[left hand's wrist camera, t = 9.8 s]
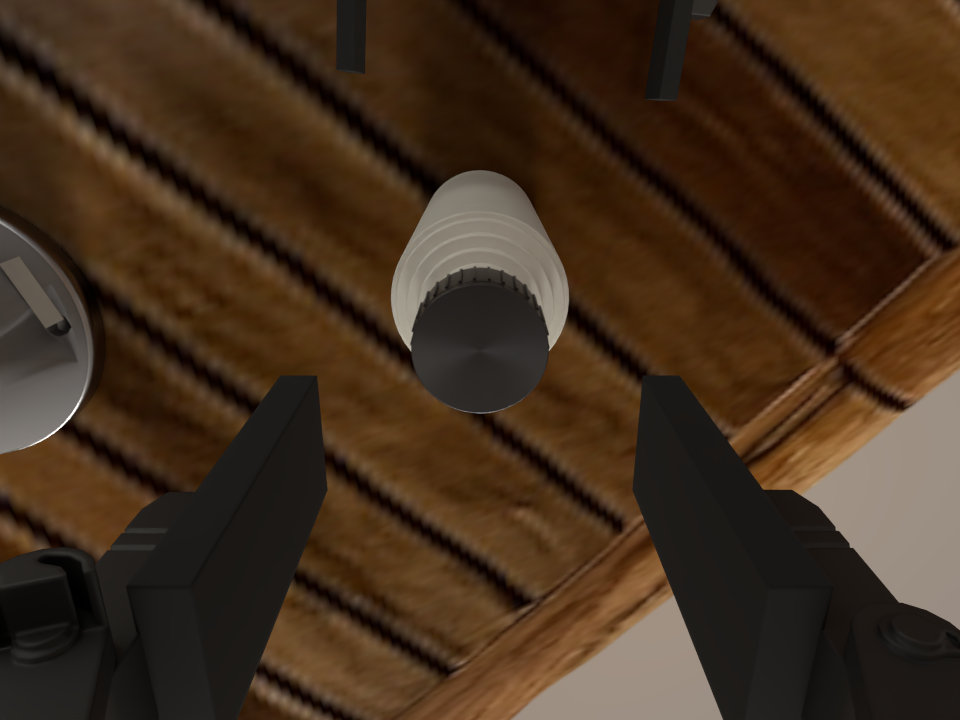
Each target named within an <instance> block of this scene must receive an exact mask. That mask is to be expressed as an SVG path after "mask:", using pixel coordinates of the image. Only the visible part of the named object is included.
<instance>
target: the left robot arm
mask: <svg viewBox="0 0 960 720" xmlns="http://www.w3.org/2000/svg"><path fill="white" fill-rule="evenodd" d="M104 360H105V336H104V329H103V324H102V319H101V316H100V312H99V309H98V306H97V304H96V301H95V299H94V296H93V294H92V292H91V290H90V288H89V286H88V284H87V283H86V281H85V279H84V278H83V276H82V274H81V273H80V272H79V270H78V269H77V267H76V266H75V265H74V263H73V262H72V261H71V260H70V258H69V257H68V256H67V255H66V254H65V253H64V251H63V250H62V249H61V248H60V247H59V246H58V245H57V244H56V243H55V242H54V241H53V240H51V239H50V238H49V237H48V236H47V235H45V234H44V233H43V232H42V231H41V230H39V229H38V228H37V227H35V226H34V225H32V224H31V223H30V222H28V221H26V220H25V219H23V218H21V217H20V216H18V215H17V214H15V213H13V212H11V211H9V210H7V209H5V208H3V207H0V454H1V453H7V452H11V451H15V450H19V449H23V448H26V447H29V446H31V445H34V444H36V443H38V442H40V441H42V440H44V439H46V438H47V437H49V436H50V435H52V434H53V433H55V432H56V431H57V430H59V429H60V428H61V427H63V426H64V425H65V424H67V423H68V422H69V421H70V420H72V419H73V418H74V417H75V416H76V415H77V414H79V413H80V411H81V410H82V409H83V408H84V407H85V406H86V405H87V403H88V402H89V401H90V399H91V398H92V396H93V394H94V392H95V391H96V389H97V386H98V384H99V381H100V379H101V375H102V371H103V367H104ZM326 492H327V480H326V469H325V458H324V447H323V436H322V425H321V414H320V403H319V392H318V381H317V376H280V377H279V378H278V380H277V381H276V382H275V384H274V385H273V387H272V388H271V389H270V391H269V392H268V393H267V395H266V396H265V397H264V399H263V400H262V402H261V403H260V404H259V406H258V407H257V408H256V410H255V411H254V412H253V414H252V415H251V417H250V418H249V419H248V421H247V422H246V423H245V425H244V426H243V427H242V429H241V430H240V432H239V433H238V434H237V436H236V437H235V438H234V440H233V441H232V442H231V444H230V445H229V447H228V448H227V449H226V451H225V452H224V453H223V455H222V456H221V457H220V459H219V460H218V462H217V463H216V464H215V466H214V467H213V468H212V470H211V471H210V472H209V474H208V475H207V477H206V478H205V479H204V481H203V482H202V483H201V485H200V486H199V487H198V489H197V490H196V492H168V493H166V494H165V495H163V496H162V497H160V498H158V499H157V500H155V501H154V502H152V503H151V504H149V505H148V506H146V507H144V508H143V509H142V510H141V511H140V512H139V513H138V514H137V516H136V517H135V518H134V519H133V520H132V522H131V523H130V524H129V525H128V526H127V528H126V529H125V533H122V534H121V535H120V536H119V537H118V538H117V540H116V541H115V542H114V543H113V544H112V546H111V550H107V552H106V553H105V554H104V555H103V556H102V558H101V559H100V560H99V561H98V562H97V564H96V565H95V563H94V559H93V557H91V556H90V555H89V554H87V553H86V552H85V551H83V550H79V549H73V548H68V547H61V548H49V549H41V550H37V551H34V552H30V553H26V554H23V555H19V556H16V557H14V558H12V559H10V560H7V561H5V562H3V563H1V564H0V720H237V718H238V715H239V713H240V710H241V708H242V705H243V703H244V700H245V698H246V695H247V693H248V690H249V687H250V685H251V682H252V680H253V677H254V675H255V672H256V670H257V667H258V665H259V662H260V660H261V657H262V655H263V652H264V649H265V647H266V644H267V642H268V639H269V637H270V634H271V632H272V629H273V627H274V624H275V622H276V619H277V617H278V614H279V611H280V609H281V606H282V604H283V601H284V599H285V596H286V594H287V591H288V589H289V586H290V584H291V581H292V579H293V576H294V573H295V571H296V568H297V566H298V563H299V561H300V558H301V556H302V553H303V551H304V548H305V546H306V543H307V541H308V538H309V535H310V533H311V530H312V528H313V525H314V523H315V520H316V518H317V515H318V513H319V510H320V508H321V505H322V503H323V500H324V498H325V495H326ZM633 492H634V495H635V497H636V500H637V503H638V505H639V508H640V510H641V513H642V515H643V518H644V520H645V523H646V525H647V528H648V530H649V533H650V535H651V538H652V541H653V543H654V546H655V548H656V551H657V553H658V556H659V558H660V561H661V563H662V566H663V568H664V571H665V573H666V576H667V579H668V581H669V584H670V586H671V589H672V591H673V594H674V596H675V599H676V601H677V604H678V606H679V609H680V611H681V614H682V617H683V619H684V622H685V624H686V627H687V629H688V632H689V634H690V637H691V639H692V642H693V644H694V647H695V649H696V652H697V655H698V657H699V660H700V662H701V664H702V667H703V670H704V672H705V675H706V677H707V680H708V682H709V685H710V687H711V690H712V693H713V695H714V698H715V700H716V702H717V705H718V708H719V710H720V713H721V715H722V718H723V720H960V630H959V629H957V628H956V627H955V626H954V625H952V624H951V623H950V622H948V621H946V620H944V619H942V618H940V617H938V616H937V615H935V614H933V613H931V612H929V611H927V610H924V609H920V608H917V607H914V606H911V605H907V604H904V603H899V602H898V601H897V600H896V599H895V597H894V596H893V595H892V594H891V593H890V591H889V590H888V589H887V588H886V587H885V585H884V584H883V583H882V582H881V581H880V580H879V578H878V577H877V576H876V575H875V574H874V572H873V571H872V570H871V569H870V568H869V566H868V565H867V564H866V563H865V562H864V560H863V559H862V558H861V557H860V556H859V555H858V553H857V552H856V551H855V550H854V549H853V548H850V546H849V543H848V541H847V540H846V539H845V538H844V537H843V535H842V534H841V533H840V532H839V531H836V530H835V526H834V525H833V524H832V522H831V521H830V520H829V519H828V518H827V516H826V515H825V514H824V513H823V512H822V510H821V509H820V508H819V507H818V506H816V505H815V504H813V503H812V502H810V501H808V500H807V499H805V498H804V497H802V496H801V495H799V494H798V493H796V492H794V491H793V490H763V489H762V487H761V486H760V485H759V483H758V482H757V481H756V479H755V478H754V477H753V475H752V474H751V472H750V471H749V470H748V468H747V467H746V466H745V464H744V463H743V462H742V460H741V459H740V457H739V456H738V455H737V453H736V452H735V451H734V449H733V448H732V447H731V445H730V444H729V442H728V441H727V440H726V438H725V437H724V436H723V434H722V433H721V432H720V430H719V429H718V427H717V426H716V425H715V423H714V422H713V421H712V419H711V418H710V417H709V415H708V414H707V412H706V411H705V410H704V408H703V407H702V406H701V404H700V403H699V402H698V400H697V399H696V397H695V396H694V395H693V393H692V392H691V391H690V389H689V388H688V387H687V385H686V384H685V382H684V381H683V380H682V378H681V377H680V376H643V381H642V392H641V403H640V414H639V425H638V436H637V447H636V458H635V469H634V480H633Z"/></svg>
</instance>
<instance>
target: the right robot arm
mask: <svg viewBox="0 0 960 720" xmlns="http://www.w3.org/2000/svg"><path fill="white" fill-rule="evenodd" d="M717 1H718V0H660V4H659V11H658V17H657V23H656V30H655V36H654V42H653V49H652V55H651V61H650V68H649V74H648V80H647V87H646V93H645V99H648V100H659V101H671V100H677V95H678V89H679V83H680V77H681V72H682V66H683V60H684V54H685V49H686V43H687V37H688V31H689V26H690V20H691V19H697V20H700V19H703V18H706V17H708V16H710V15H711V13H712V11H713V9H714V8H715V6H716V4H717ZM365 39H366V0H337V65H336V70H340V71H344V72H349V73H360V74H365Z"/></svg>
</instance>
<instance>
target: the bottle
mask: <svg viewBox="0 0 960 720" xmlns="http://www.w3.org/2000/svg"><path fill="white" fill-rule="evenodd" d="M474 266H476V268H487V267H490V268H491V269H496V270H499V271H501V270H504V272H505V273H507V274H509V275H511V276H516V278H517V279H518V280H519V281H520V282H521V283H523V284H526V285H527V287H528V289H529V291H530V292H531V293H532V294H535V296H536V299H537V303H538V305H539V306H540V305H541V308H542V311H543V314H544V318H545V321H546V325H547V329H548V332H549V335H548V341H549V346H550V349H551V348H552V347H553V345H554V344H555V342H556V341H557V339H558V337H559V335H560V334H561V331H562V329H563V326H564V324H565V320H566V316H567V312H568V304H569V289H568V283H567V277H566V274H565V271H564V267H563V265H562V263H561V261H560V259H559V256H558V255H557V253H556V251H555V249H554V247H553V245H552V243H551V241H550V239H549V237H548V235H547V233H546V231H545V229H544V227H543V225H542V223H541V221H540V219H539V218H538V216H537V214H536V212H535V210H534V208H533V206H532V204H531V202H530V200H529V198H528V197H527V195H526V194H525V192H524V191H523V190H522V189H521V188H520V187H519V186H518V185H517V184H516V183H515V182H514V181H512V180H511V179H509V178H507V177H505V176H504V175H501V174H498V173H496V172H491V171H484V170H476V171H469V172H464V173H462V174H459V175H457V176H455V177H453V178H451V179H449V180H448V181H446V182H445V183H444V184H443V185H442V186H441V187H440V188H439V189H438V190H437V191H436V192H435V194H434V195H433V197H432V198H431V200H430V202H429V204H428V206H427V208H426V210H425V212H424V214H423V216H422V218H421V220H420V221H419V223H418V225H417V227H416V229H415V231H414V233H413V235H412V237H411V239H410V241H409V243H408V245H407V247H406V249H405V251H404V253H403V255H402V257H401V259H400V261H399V263H398V265H397V267H396V271H395V274H394V277H393V283H392V289H391V304H392V312H393V316H394V320H395V324H396V326H397V329H398V331H399V333H400V335H401V337H402V339H403V341H404V342H405V344H406V345H407V347H408V348H409V349H410V351H411V345H410V342H411V339H412V335H413V332H411V331H412V327H413V324H414V321H415V318H416V314H417V312H418V309H419V306H420V303H421V302H422V303H423V301H424V299H425V297H426V293H427V291H429V292H430V291H431V289H432V288H433V287H434V286H435V284H436V282H437V281H438V282H440V281H441V280H442V279H444V278H445V277H447V274H450V275H451V274H453V273H455V272H458V271H460V269H463V270H464V269H469V268H473V267H474ZM550 349H549V351H550Z"/></svg>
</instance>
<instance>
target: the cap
mask: <svg viewBox="0 0 960 720" xmlns="http://www.w3.org/2000/svg"><path fill="white" fill-rule="evenodd" d="M411 332H413V335H412V339H411V342H410V345H411V354H412V361H413V365H414V368H415V371H416V373H417V376H418V377H419V379H420V381H421V383H422V384H423V385H424V387H425V388H426V389H427V390H428V391H429V392H430V393H431V394H432V395H433V396H434V397H435V398H436V399H438V400H439V401H441V402H442V403H444V404H446V405H447V406H450V407H452V408H454V409H457V410H460V411H464V412H470V413H490V412H496V411H500V410H503V409H506V408H508V407H510V406H513V405H514V404H516V403H518V402H519V401H521V400H522V399H524V398H525V397H526V396H527V395H528V394H529V393H530V392H531V391H532V390H533V389H534V388H535V387H536V385H537V384H538V383H539V381H540V379H541V377H542V376H543V373H544V371H545V368H546V365H547V361H548V354H549V349H550V346H549V341H548V335H549V332H548V329H547V325H546V321H545V318H544V314H543V311H542V308H541V305H540V306H539V305H538V303H537V299H536V296H535V294H532V293H531V292H530V291H529V289H528V287H527V285H526V284H523V283H521V282H520V281H519V280H518V279H517V278H516V276H511V275H509V274H507V273H505V272H504V270H501V271H499V270H496V269H491V268H490V267H487V268H476V266H474V267H473V268H469V269H464V270H463V269H460V271H458V272H455V273H453V274H451V275H450V274H447V277H445V278H444V279H442V280H441V281H440V282H438V281H437V282H436V284H435V286H434V287H433V288H432V289H431V291H430V292H429V291H427V293H426V297H425V299H424V301H423V303H422V302H421V303H420V306H419V309H418V312H417V314H416V318H415V321H414V324H413V327H412V331H411Z"/></svg>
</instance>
